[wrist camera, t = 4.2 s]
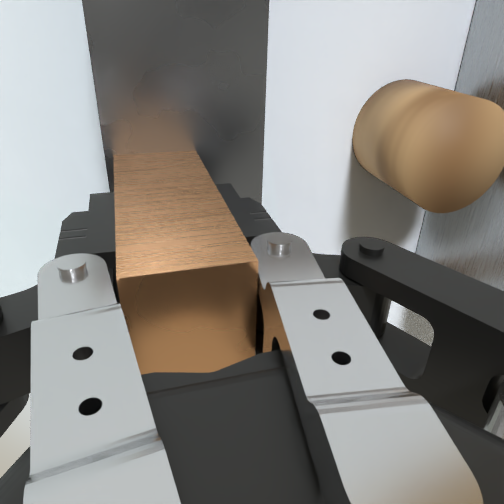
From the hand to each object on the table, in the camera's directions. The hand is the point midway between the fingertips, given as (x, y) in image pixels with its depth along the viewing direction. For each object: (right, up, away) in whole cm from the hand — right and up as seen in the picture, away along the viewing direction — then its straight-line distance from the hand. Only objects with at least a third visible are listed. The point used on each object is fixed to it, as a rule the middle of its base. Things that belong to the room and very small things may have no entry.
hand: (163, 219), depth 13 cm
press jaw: (-1, +4, +7) cm, 8 cm away
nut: (+10, +5, +10) cm, 15 cm away
